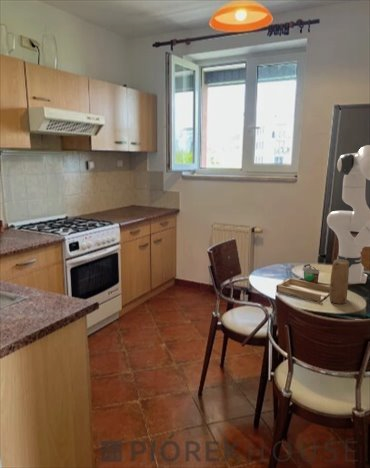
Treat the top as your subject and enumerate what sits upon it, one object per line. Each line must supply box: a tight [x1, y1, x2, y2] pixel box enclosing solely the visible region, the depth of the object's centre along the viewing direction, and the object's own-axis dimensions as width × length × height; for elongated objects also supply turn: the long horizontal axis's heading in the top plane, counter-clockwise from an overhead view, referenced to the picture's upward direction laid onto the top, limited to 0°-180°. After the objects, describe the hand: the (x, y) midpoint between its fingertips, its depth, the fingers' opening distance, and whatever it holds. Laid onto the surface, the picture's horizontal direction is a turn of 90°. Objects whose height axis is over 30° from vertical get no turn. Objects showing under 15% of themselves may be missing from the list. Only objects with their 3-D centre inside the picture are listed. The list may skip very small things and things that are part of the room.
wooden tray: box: [275, 277, 330, 303], centre depth 180 cm, size 15×22×4 cm
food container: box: [301, 263, 320, 284], centre depth 192 cm, size 12×6×10 cm, turn 4°
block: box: [329, 258, 349, 305], centre depth 167 cm, size 11×8×20 cm
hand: (365, 252), depth 150 cm, fingers open, 8 cm apart
